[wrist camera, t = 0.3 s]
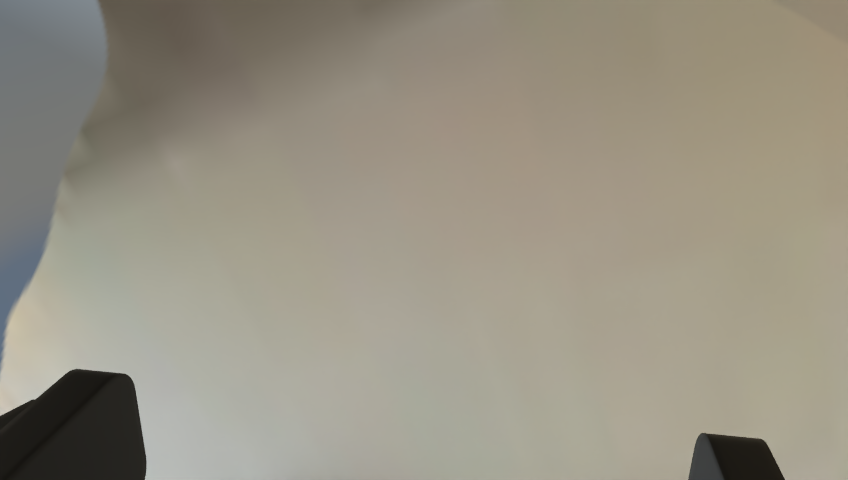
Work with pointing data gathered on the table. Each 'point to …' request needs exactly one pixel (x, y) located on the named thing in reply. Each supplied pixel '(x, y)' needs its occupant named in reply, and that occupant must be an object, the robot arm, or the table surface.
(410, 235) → the table surface
